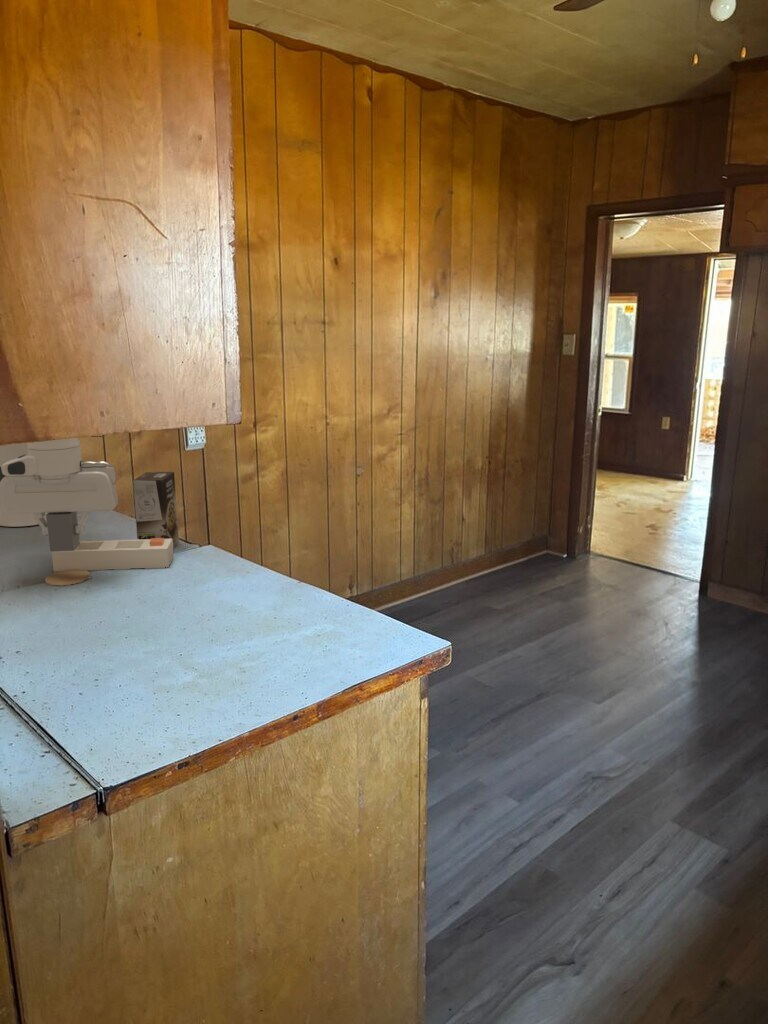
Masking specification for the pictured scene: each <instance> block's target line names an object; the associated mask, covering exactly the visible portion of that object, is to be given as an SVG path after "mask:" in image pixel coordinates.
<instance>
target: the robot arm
mask: <svg viewBox="0 0 768 1024" xmlns="http://www.w3.org/2000/svg"><path fill="white" fill-rule="evenodd" d="M105 436H106V435H103V436H91V437H90V438H103V437H105ZM81 452H82V449H81V443H80V439H79V438H70V439H62V440H52V441H44V442H34V443H27V444H18V445H6V446H0V527H2V526H3V527H13V528H14V527H15V528H16V527H28V526H29V527H30V526H38V525H39V527H40V528H41V532H42V536H44V537H46V536H47V537H49V536H48V528H47V519H46V515H47V514H48V513H54V512H77V518H80V521H79V522H78V524H75V525H74V526H73V528H74V535H79V536H80V535H81V536H82V535H84V534H85V523H86V521H87V519H88V517H89V515H90V512H111V511H112V510H114V509H115V508H116V506H117V505H118V504H119V501H118V500H119V498H118V493H117V488H116V484H115V483H116V480H117V476H116V473H117V472H116V469H115V467H114V466H113V465H112V464H111V463H108V462H107V461H104V460H99V461H89V460H88V461H84V460H83V461H82V453H81Z"/></svg>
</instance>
